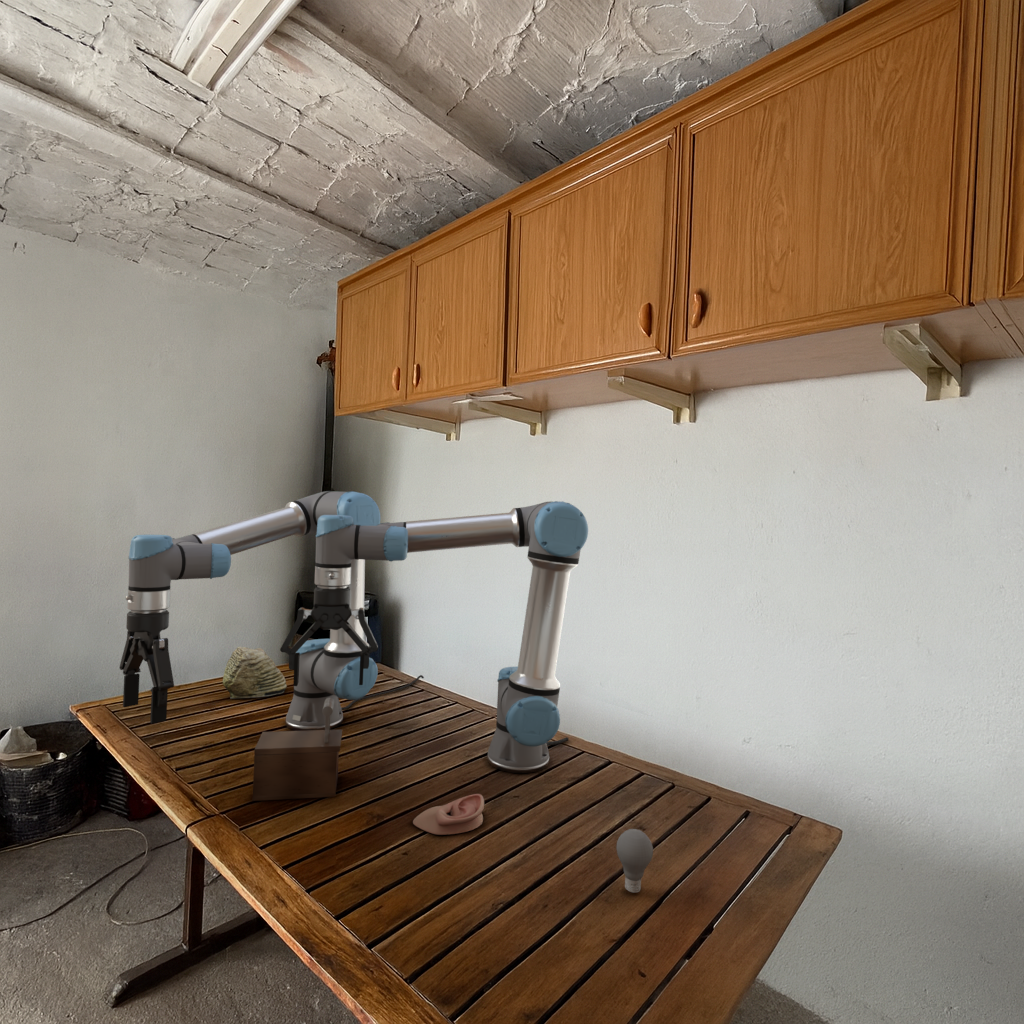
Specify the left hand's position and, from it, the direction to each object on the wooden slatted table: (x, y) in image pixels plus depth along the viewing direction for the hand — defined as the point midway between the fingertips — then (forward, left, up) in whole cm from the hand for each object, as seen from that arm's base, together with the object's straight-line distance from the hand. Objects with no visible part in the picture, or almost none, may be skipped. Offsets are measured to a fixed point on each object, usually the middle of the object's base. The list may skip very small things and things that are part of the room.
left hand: (144, 713), depth 130 cm
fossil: (-50, -46, -17) cm, 70 cm away
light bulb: (-41, +91, -17) cm, 101 cm away
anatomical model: (-36, +53, -17) cm, 66 cm away
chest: (-24, +19, -17) cm, 35 cm away
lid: (-24, +19, -8) cm, 32 cm away
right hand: (-28, +23, +5) cm, 37 cm away
